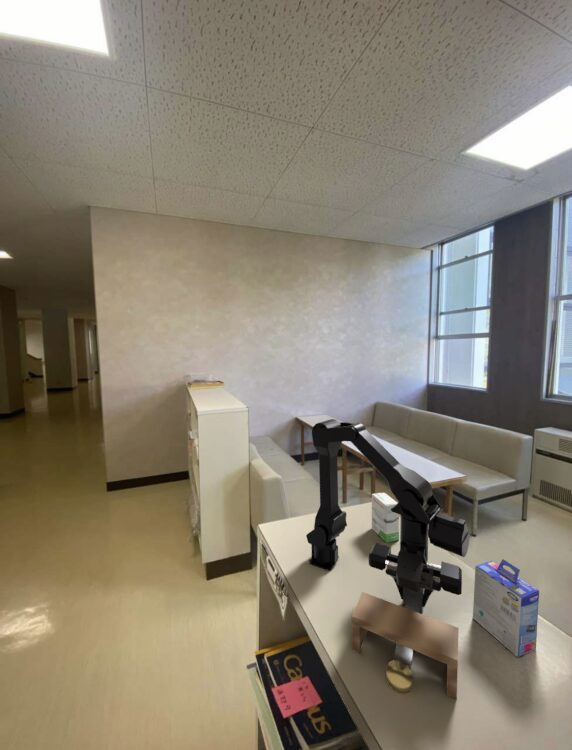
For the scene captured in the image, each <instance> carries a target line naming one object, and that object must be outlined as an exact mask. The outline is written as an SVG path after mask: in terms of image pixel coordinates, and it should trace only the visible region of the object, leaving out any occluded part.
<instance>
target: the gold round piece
mask: <svg viewBox="0 0 572 750" xmlns="http://www.w3.org/2000/svg"><path fill="white" fill-rule="evenodd" d="M413 678H414V677H413V673H412V669H411V670H410V669H409V667H408V666H407V665H406V664H404V663H403V662H400V661H396V660H394V661H393V660H390V661H389V662H388V663H387V664H386V667H385V679H386V682H387V684H388V686H389V687H390V688H391V690H393V691H395V692H396V693H398V694H404V695H405V694H408V693H410V692H411V690H412V689H413Z"/></svg>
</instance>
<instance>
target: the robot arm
mask: <svg viewBox="0 0 572 750" xmlns="http://www.w3.org/2000/svg"><path fill="white" fill-rule="evenodd" d="M311 438H312V442H313V443H312V444H313V446H314V448H315V450H316V452H317V453H318V465H319V466H318V468H319V469H318V471H319V472H318V473H319V474H318V475H319V476H318V477H319V507H318V510H317V512H316V515H315V518H314V524H313V529H312V530H311V531H310V532H308V533H307V534H306V540H307V543H308V544H309V545H311V546H310V547H311V557H310V559H309V560H308V563H309V564H310V565H314V566H315V567H318V568H320V569H324V570H327V571H328V572H330V571H332V570H333V568H334V566H335V565H336V564H337V563H338V561H339V546H338V545H337V538H338V537H340V535H341V534H342V533H343V532H344V531H345V530H346V527H347V526H348V522H347V512H346V511H344V510H342V509H341V507H340V506H339V482H338V481H339V477H338V475H339V474H338V473H339V472H338V470H339V469H338V453H339V451H340V449H341V445H342V443H343V442H350V443H351V444H352V445H353V446H354V447H355V448H356V449H357V450H358V451H359V452H360V453H361V455H363V456H364V457H365V459H367V461H368V462H369V463H370V464H371V465H372V466H373V467H374V468H375V469H376V471H378V472H379V473H380V474H381V476H383V477H384V480H386V481H387V483H388V487H389V489H390V492H391V494H392V495H393V496H394V497H395V499H396V500H397V504H396V505H395V506H394V507H393V508H391V511H392V512H394V513H397V514H399V516H400V518H399V520H400V521H399V540H400V541H399V552H398V553H397V555H396V554H393V553H392V548H391V546H389V545H386V544H381V543H378V542H375V543H374V544H373V545H372V547H371V550H370V551H369V554H368V566H369V567H371V568H373V569H376V570H378V571H379V570H380V571H383V570H384V571H385V574H386V575H387V576H390V577H391V578H392V579H393V580H394V583H395V585H396V588H397V591H398V593H399V596H400V600H402V601H403V588H407V589H410V590H413V591H414V592H421V591H422V588H424V595H423V601H422V606H423V608H425V606H426V605H427V602H428V600H429V598H430V597H431V595H432V593H433V592H434V591H436V592H441V591H442V590H443V591H445V592H448V593H450V594H454V595H456V596H459V595H462V591H463V589H462V588H463V586H462V585H463V583H462V582H463V581H462V580H463V578H462V577H463V576H462V575H463V570H462V568H461V567H460V566H459V565H456V564H454V563H453V564H452V563H448V562H445V561H441V563H440V564H441V565H438V564H435V563H429V561H428V560H429V544H432V545H433V546H434V547H436V548H439V549H441V550H444V551H447V552H449V553H452V554H455V555H457V556H460V557H463V558H465V557H466V555H467V553H468V550H469V546H470V537H471V536H470V534H471V533H470V531H469V526H467V521H466V520H465V519H462V518H458V517H453V516H450V515H447V514H443V513H441V512H442V511H443V507H442V505H441V503H440V502H439V500H438V498H437V497H436V496H435V494H434V492H433V487H432V485H431V484H430V481H428V480H427V479H426V478H425V477H423V476H422V475H421V474H419V473H418V472H416V471H415V470H414V469H410V468H408V467H406V466H405V465H403V464H402V463H401V462H399V460H397V459H396V458H395V457H394V455H392V454H391V453H390V452H389V451H388V450H387V449H386V448H385V446H383V445H382V444H381V443H380V442H379V441H378V440H377V438H375V437H374V436H373V435H372V434H371V433H370V432H369V431H368V429H367V427H366V426H365V425H364V424H362V423H360V422H356V423H355V422H354V423H351V422H347V421H343V422H340V421H339V420H337V419H334V418H331V419H330V418H329V419H327V420H323V421H319V422H317V423H315V424H314V425H313V427H312V428H311ZM426 504H427V505H428V506H427V508H426V509H424V506H425V505H426Z"/></svg>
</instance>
